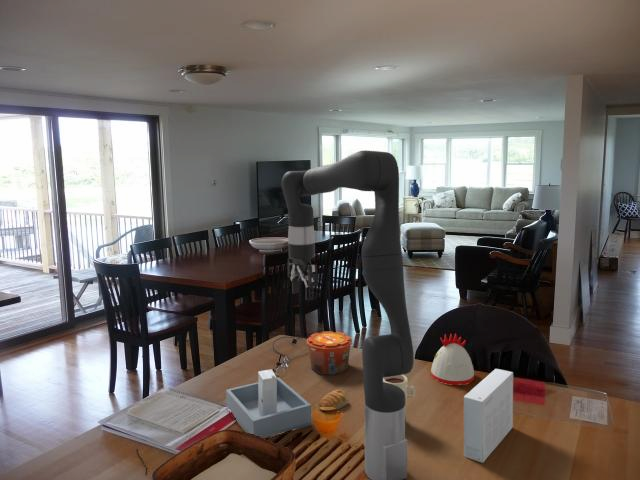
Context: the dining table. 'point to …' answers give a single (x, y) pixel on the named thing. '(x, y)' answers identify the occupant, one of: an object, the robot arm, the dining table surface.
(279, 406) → the tote
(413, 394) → the character mug
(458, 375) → the chicken hat
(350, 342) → the food container
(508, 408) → the skincare box
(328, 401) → the pastry
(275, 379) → the skincare box
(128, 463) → the dining table surface
